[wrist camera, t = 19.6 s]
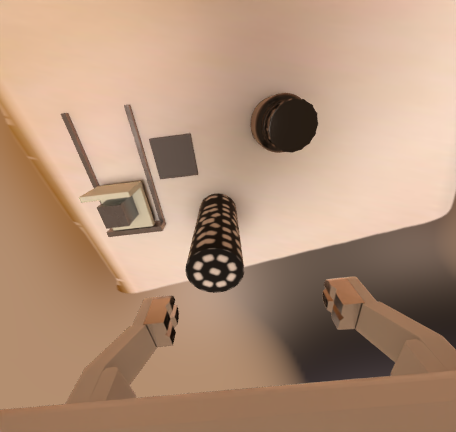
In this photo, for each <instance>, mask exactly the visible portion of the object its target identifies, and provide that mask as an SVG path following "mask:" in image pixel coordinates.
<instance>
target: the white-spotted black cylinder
mask: <svg viewBox="0 0 456 432" xmlns="http://www.w3.org/2000/svg"><path fill="white" fill-rule="evenodd" d="M243 275H244V265H243V257H242V250H241V242H240V235H239V227H238V220H237V213H236V207H235V204H234V202H233V201H232V199H230V198H229V197H228V196H226V195H223V194H213V195H210V196H208V197H207V198H205V199H204V200H203V202H202V203H201V206H200V210H199V214H198V218H197V223H196V227H195V231H194V235H193V239H192V243H191V248H190V252H189V256H188V260H187V264H186V276H187V278H188V280H189V281H190V282H191V283H192V284H193V285H194V286H195V287H197V288H198V289H201V290H203V291H207V292H223V291H227V290H230V289H232V288H234V287H235V286H236V285H237V284H238V283H239V282H240V281H241V280H242V278H243Z"/></svg>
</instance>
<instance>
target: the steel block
mask: <svg viewBox="0 0 456 432" xmlns="http://www.w3.org/2000/svg"><path fill="white" fill-rule="evenodd" d="M97 209H98V211H99V214H100V216H101V218H102V220H103V222H104V224H105V226H106V229H107V228H116V227H125V226H130V224H131V223H132V222H133V221H134V220H135V218H136V217H137V216H138V215H139V213H138V210H137V207H136V205H135V202H134V199H133V196H131V197H125V198H117V199H109V200H106V201H105V202H104V203H102V204H101V205H100V206H98V207H97Z"/></svg>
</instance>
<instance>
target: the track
mask: <svg viewBox="0 0 456 432" xmlns="http://www.w3.org/2000/svg"><path fill="white" fill-rule="evenodd" d="M124 107H125V111H126V114H127V117H128V120H129V123H130V127H131V130H132V133H133V136H134V139H135V143H136V146H137V149H138V152H139V155H140V159H141V162H142V165H143V168H144V171H145V175H146V178H147V181H148V184H149V188H150V191H151V194H152V197H153V200H154V204H155V207H156V210H157V213H158V216H159V221H154V223H155V224H154V225H153V226H149V227H141V228H132V229H123V230H114V231H113V228H110V230H109V231H108V232H107V234H108V237H113V236H122V235H131V234H140V233H148V232H157V231H163V229H164V227H165V225H166V223H165V220H164V216H163V213H162V210H161V206H160V203H159V200H158V196H157V193H156V190H155V186H154V183H153V180H152V176H151V173H150V170H149V166H148V163H147V160H146V156H145V153H144V150H143V146H142V143H141V140H140V136H139V133H138V130H137V126H136V123H135V119H134V116H133V113H132V109H131V106H130V105H124ZM61 116H62V118H63V120H64V122H65V125H66V127H67V129H68V131H69V134H70V136H71V138H72V140H73V143H74V145H75V147H76V149H77V152H78V154H79V156H80V158H81V160H82V163H83V165H84V167H85V169H86V172H87V174H88V176H89V178H90V181H91V183H92V185H93V187H94V188H96V187H97V186H99V184H98V182H97V179H96V177H95V175H94V172H93V170H92V168H91V165H90V163H89V161H88V158H87V156H86V154H85V151H84V149H83V147H82V144H81V142H80V140H79V137H78V135H77V133H76V131H75V128H74V126H73V124H72V121H71V119H70V117H69V114H68V113H64V114H61ZM100 203H101V201H100Z"/></svg>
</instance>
